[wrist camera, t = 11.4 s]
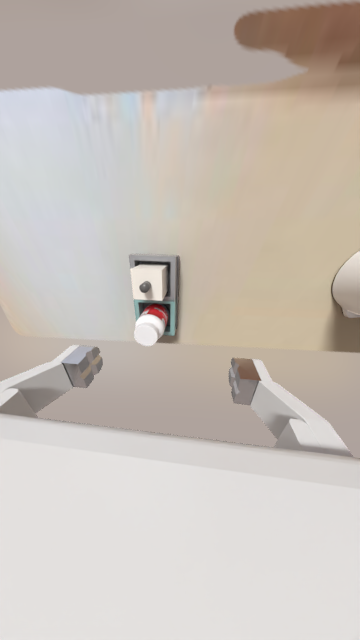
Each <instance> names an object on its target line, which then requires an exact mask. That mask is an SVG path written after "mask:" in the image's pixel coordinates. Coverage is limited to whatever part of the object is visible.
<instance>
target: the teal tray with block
mask: <svg viewBox="0 0 360 640" xmlns="http://www.w3.org/2000/svg"><path fill="white" fill-rule="evenodd" d="M129 261H130V271H131V280H132V289H133V298H134V306H135V315H136V321H137V320H138V318H139V317H140V316H141V314H142V313H143V311H144V310H145V309H146V307H147V306H148V305H149V304H151V303H161V304H163V305H164V306H166V308H167V309H168V311H169V318H168V321H167V324H166V327H165V330H164V333H163V335H172V336H174V335H175V330H176V329H177V320H178V281H179V256H177V255H154V254H130V255H129Z"/></svg>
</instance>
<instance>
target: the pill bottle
mask: <svg viewBox="0 0 360 640" xmlns="http://www.w3.org/2000/svg"><path fill="white" fill-rule="evenodd" d="M168 318H169V311H168V309H167V308H166V306H164V305H163V304H161V303H151V304H149V305H148V306H147V307H146V309H145V310H144V311H143V313H142V314H141V316H140V317H139V318H138V320H137V321H136V324H135V331H134V337H135V339H136V341H137V342H138V343H139V344H142V345H144V346H151V345H154V344H155V343H156V342H157V340H158V339H159V338H160V337H161V336H162V335H163V333H164V330H165V327H166V324H167V321H168Z"/></svg>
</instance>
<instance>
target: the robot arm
mask: <svg viewBox="0 0 360 640" xmlns="http://www.w3.org/2000/svg"><path fill="white" fill-rule="evenodd" d="M332 292H333V297H334V299H335V300H336V302H337V303H338V304H339V305H340V306H341V307H342V310H343V314H344V316H346V317H349V318H356V317H360V251H359V252H357V253H356V254H355V255H353V256H352V257H351V258H350V259H349V260H348V261H347V262H346V263H345V264H344V265H343V266H342V267H341V269H340V270H339V272H338V273H337V275H336V277H335V280H334V283H333V288H332ZM99 353H100V350H99V348H98V347H93V346H84V345H71V346H70V347H69V348H68V349H67V350H65V351H64V352H63V353H62V354H60V355H59V356H58V357H57V358H56V359H54V360H53V361H52V362H47V363H45V364H43V365H40V366H38V367H35V368H33V369H31V370H28V371H25V372H23V373H21V374H18V375H16V376H13V377H11V378H9V379H6V380H4V381H1V382H0V640H360V458H355V457H353V455H352V454H351V453H350V451H349V450H348V448H347V447H346V446H345V444H344V443H343V441H342V440H341V439H340V437H339V436H338V434H337V433H336V432H335V430H334V429H333V427H332V426H331V425H330V423H329V422H328V421H326V420H325V419H324V418H323V417H321V416H320V415H319V414H317V413H316V412H315V411H313V410H312V409H311V408H309V407H308V406H307V405H305V404H304V403H302V402H301V401H300V400H299V399H297V398H296V397H295V396H293V395H292V394H291V393H289V392H288V391H287V390H285V389H284V388H283V387H281V386H280V385H279V384H277V383H275V382H273V381H272V379H271V377H270V375H269V374H268V372H267V370H266V368H265V366H264V364H263V362H262V360H260V359H245V358H232V361H231V365H232V367H231V368H230V369H229V383H230V386H231V387H232V392H231V393H232V397H233V401H234V403H237V404H244V405H250V406H251V408H252V409H253V410H254V411H255V413H256V414H257V415H258V416H259V417H260V419H261V420H262V421H263V422H264V424H265V425H266V426H267V427H268V428H269V430H270V431H271V432H272V433H273V435H274V436H275V437H276V438H277V439H278V441H277V442H276V445H275V446H274V447H267V446H259V445H251V444H243V443H235V442H227V441H219V440H211V439H202V438H194V437H187V436H178V435H171V434H163V433H155V432H147V431H139V430H131V429H123V428H114V427H107V426H99V425H91V424H83V423H75V422H66V421H58V420H51V419H43V418H38V417H37V415H36V414H35V413H37V412H38V411H40V410H41V409H43V408H44V407H45V406H47V405H48V404H50V403H51V402H53V401H54V400H56V399H57V398H58V397H60V396H61V395H63V394H64V393H66V392H67V391H69V390H70V389H72V388H73V387H82V388H87V387H88V386H89V384H90V383H91V382H92V380H93V379H94V375H95V374H97V373H99V371H100V370H101V367H102V365H103V362H102V358H101V357H100V356H99Z"/></svg>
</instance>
